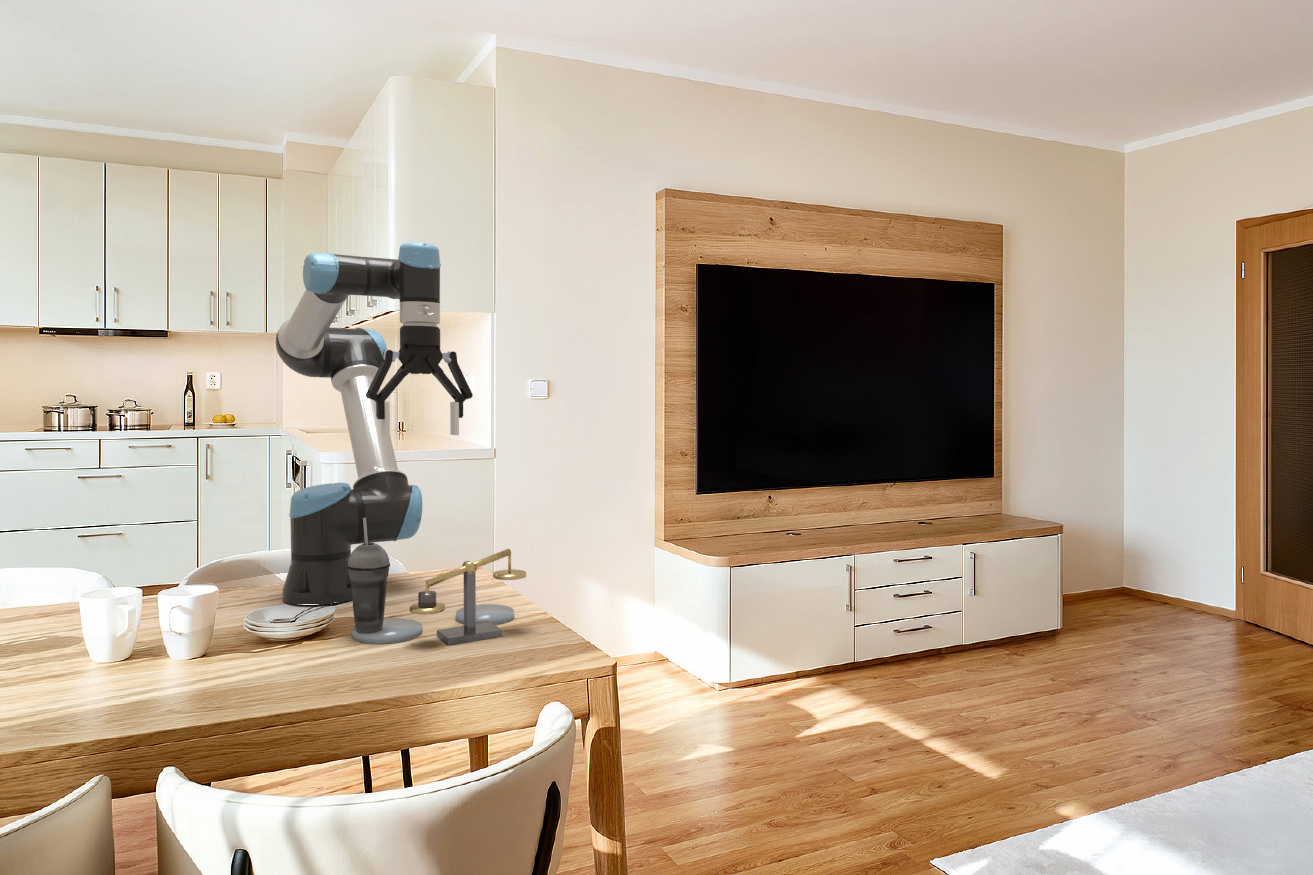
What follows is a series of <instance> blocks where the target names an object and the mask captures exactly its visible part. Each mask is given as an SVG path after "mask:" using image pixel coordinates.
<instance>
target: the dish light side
mask: <svg viewBox="0 0 1313 875" xmlns="http://www.w3.org/2000/svg"><path fill="white" fill-rule="evenodd" d="M514 618H515V610H514V608H513V607H511V606H508V605H503V604H494V603H488V604H486V603H484V604H476V624H478V623H485V622H491V623H492V624H494V625H496V626H497V625H502V624H505V623H509V622H511V621H513V619H514ZM455 621H456V622H457V623H459V624H462V625H464V607H462V608H460V609H457V611H455Z"/></svg>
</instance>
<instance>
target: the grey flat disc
mask: <svg viewBox="0 0 1313 875" xmlns="http://www.w3.org/2000/svg"><path fill="white" fill-rule="evenodd" d="M351 632H352V635H351V636H352V640H354V641H357V642H359V643H363V644H368V645H369V644H371V645H388V644H389V645H390V644H396V643H403V642H407V641H411V640H413V639H415V638H418V637H420V636H421V635H422V634H423V624H422V623H421V621H419V620H415V619H411V618H404V617H403V618H400V617H399V618H398V617H395V618H392V617H391V618H384V621H383V625H382V630H381V631H379V632H376V633H366V634H365V633H358V632H356V627H355V626H353V627H352V630H351Z"/></svg>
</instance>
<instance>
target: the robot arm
mask: <svg viewBox="0 0 1313 875" xmlns="http://www.w3.org/2000/svg"><path fill="white" fill-rule="evenodd" d="M398 249H399V250H398V257H397V259H395V258H384V257H372V256H371V257H370V256H361V255H360V256H358V255H346V254H337V253H336V254H335V253H331V252H324V253H323V252H312V253H308V254H307V255H306V256H305V258H304V261H303V263H304V264H303V268H302V281H303V286H304V288H305V290H304V292H303V294H302V297H301V298H300V300H299V302H298V304H297V305H296V308H295V310H294V312H292V315H291V316H290V319H287V320H286V321H285V322H283V323H282V324H281V325H280V327H279V329H278V331H277V333H276V334H275V335H276V336H275V348H276V352H277V353H278V356H279V358H280V359H281V361H282V362H283V364H285V365H286V366H287V367H288V368H289V369H290V370H292V371H293V372H295V373H297V374H299V375H302V376H305V377H309V378H324V379H325V378H328V379H330V382H331V385H332V387H333V388H334V390H335V391H338V392H340V396H341V400H342V405H343V410H344V414H345V419H346V425H347V428H348V435H349V438H350V439H349V440H350V443H351V445H350V446H351V448H352V453H353V459H354V462H355V463H354V464H355V468H356V469H355V470H356V473H357V480H356V481H355V482H354V483H353V485H352V488H351V485H350V484H349V483H347V482H334V483H331V482H330V483H323V484H316V485H312V486H308V487H303V488H301V489H299V490H297V491H295V492H294V493H293V494H292V496H291V497H290V507H289V508H290V509H289V514H288V515H289V517H290V518H289V520H290V552H291V553H290V557H291V558H290V565H289V568H288V572H287V575H286V577H285V580H284V584H283V587H282V602H284V603H285V604H289V605H292V604H330V605H332V604H331V603H334V602H339V603H338V604H341V603H346V602H349V601H352V590H351V580H350V577H349V573H348V568H347V565H348V560H349V557H350V555H351V553H352V552H351V550H352V545H361V544H364V543H365V538H364V525H363V518H366V525H367V538H368V543H381V542H383V543H384V542H391V541H392V542H397V541H399V540H405V539H408V540H409V539H410V538H413V537H414V536H415V535H416V534H417V532H418V530H419V528H420V526H421V522H422V516H423V495H422V490H421V488H420V487H419V486H418V485H415V484H409V480H408V475H407V474H406V473H405V472H403V471H400V470H399V468H398V464H397V458H396V455H395V450H394V446H393V442H392V437H391V432H390V430H391V427H390V426H391V425H390V424H391V423H390V422H391V420H390V418H391V417H390V409H391V408H390V402H387V401H386V400H387V399H388V398H389V396H391V394H392V393H393V392H394V391H395V389H397V387H398V386H399V385H400V383H401V382H403V380H404V378H406V377H407V376H408V375H409V374H411V375H420V374H422V375H431V374H432V376H434V377H435V378H436V379H437V381H438V382H439V384H441V386H442V387H443V388H444V389H445V391H446V392H447V393H448V394H449V396H451V398H452V399H453V400H454V401H450V403H449V404H450V406H449V407H450V413H449V414H450V417H449V418H450V420H449V421H450V428H449V429H450V431H449V432H450V436H459V435H460V419H462V418H463V417H464V402H465V401H466V400H469V399H472V398H473V396H474V395H473V393H472V390H471V389H470V386H469V384H468V382H467V379H466V378H465V376H464V374H463V372H462V369H461V367H460V365H459V363H458V356H457V352H456V351H447V352H442V350H441V328H440V327H439V326H438V325H439V324H441V266H442V264H441V259H440V249H439V248H438V246H436V245H435V244H432V243H426V242H425V243H423V242H405V243H402V244H401V245H400V246H399V248H398ZM350 296H365V297H368V296H369V297H381V298H382V297H383V298H388V299H392V300H399V323H400V324H402V325H401V326H400V328H399V350H398V351H396V350H395V351H394V350H392V349H388V346H387V343H386V342H385V339H384V337H383V335H382V334H381V333H380V332H379V331H377V330H375V329H367V328H363V327H356V328H348V327H347V328H346V327H331V325H332V323H333V321H334V320H335V318H336V317H337V315H338V314H339V312H340V310H341V309H342V307H343V305H344V304H345V302H346V301H347V299H348V298H349V297H350ZM396 359H398V360H399V362H400V363H401V365H400V366H399V368H398V369H397V370H396V372H395V374H394V375H393V376H392V377H391V378H390V380H389V381H388V382H387V383H386V384H385V385H384V387H383V388H382V389H381V387H382V386H383V382H384V381H385V378H386V377H387V374H388V373H389V371H390V368H391V366H392V363H394V362H395V361H396ZM442 360H443V361H444V362H445V363H446V364H447V366H448V369H449V372H450V373H451V374H452V375H451V376H452V377H453V379H454V381H455V383H456V385H457V387H458V388H457V387H456V386H455V385H454V383H453V382H452V381H451V379H449V377H448V376H447V375H446V374H445V372H444V370H443V369H442V368H441V366H440V363H441V362H442Z"/></svg>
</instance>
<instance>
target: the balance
mask: <svg viewBox="0 0 1313 875" xmlns="http://www.w3.org/2000/svg"><path fill="white" fill-rule="evenodd" d="M506 557H507V560H508V563H507V564H508V565H507V567H508V568H507V569H500V570H495V571H493V573H492V577H493V578H494V579H495V580H499V581H500V580H501V581H515V580H522V579H525V578H526V577H527V571H525V570H523V569H513V568H512V551H511V549H510V548H506V549H504V550H500V551H499V552H497V553H493V554H491V555H487V556H486V557H483V558H481V559H478V560H475V561H471V560H466V561H464V562H463V563H462V565H461V566H459V567H458V568H455V569H453V570H450V571H447V572H445V573H443V574H440V575H438V576H435V577H432V578H429V579H427V580H425V590H421V591H419V592H418V594H417V595H418V597H417V598H418V602H417V603H414V604H411V605H409V612H410V613H411V614H414V615H434V614H438V613H441V612H444V611H445V610H446V604H445V603H443V602H440V601H439V602H438V601H437V591H436V590H430V589H429V588H431V587H433V586H435V585H437V584H441V583H443V582H446V581H448V580H450V579H453V578H456V577H458V576H460V575H463V608H464V624H463V625H460V626H454V627H453V626H452V627H446V628H440V629H436V637H437V638H438V639H440V640H441V641H442V642H444V643H445V644H446V645H448V646H452V645H458V644H465V643H470V642H476V641H481V640H483V641H484V640H489V639H493V638H495V639H497V638H500V637H503V636H504V635H503V629H502V628H500V627H499V626H497V625H494V624H492V623H491V622H485V623H478V624H476V605H477V603H476V601H477V600H476V598H477V597H476V595H477V593H476V591H477V590H476V583H477V582H476V578H477V577H476V576H477V575H476V572H477V570H478V568H480V567H483V566H486V565H489V564H491V563H493V562H495V561H499V560H501V559H504V558H506Z"/></svg>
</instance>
